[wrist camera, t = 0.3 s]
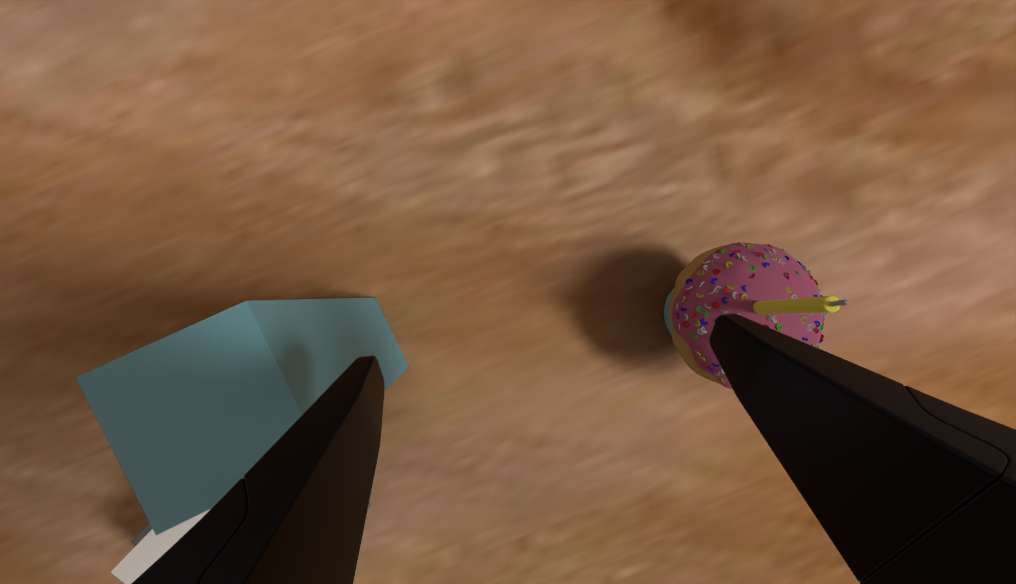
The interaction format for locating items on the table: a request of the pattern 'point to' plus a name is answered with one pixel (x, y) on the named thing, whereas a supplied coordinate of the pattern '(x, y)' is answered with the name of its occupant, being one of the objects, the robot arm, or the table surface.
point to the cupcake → (743, 300)
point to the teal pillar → (227, 394)
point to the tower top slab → (151, 550)
